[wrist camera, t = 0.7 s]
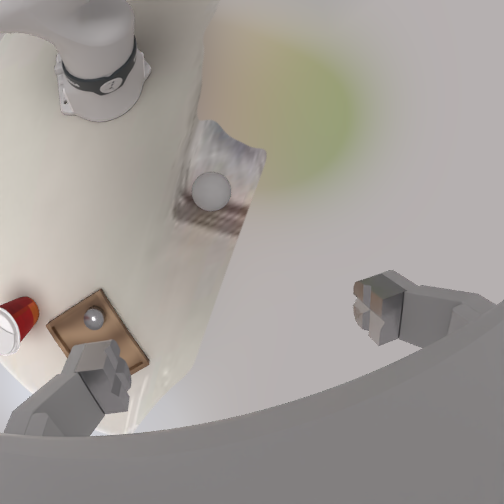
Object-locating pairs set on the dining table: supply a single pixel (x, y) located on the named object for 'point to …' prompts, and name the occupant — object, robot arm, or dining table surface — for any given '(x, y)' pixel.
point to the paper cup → (16, 323)
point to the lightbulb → (211, 191)
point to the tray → (96, 331)
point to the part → (94, 317)
